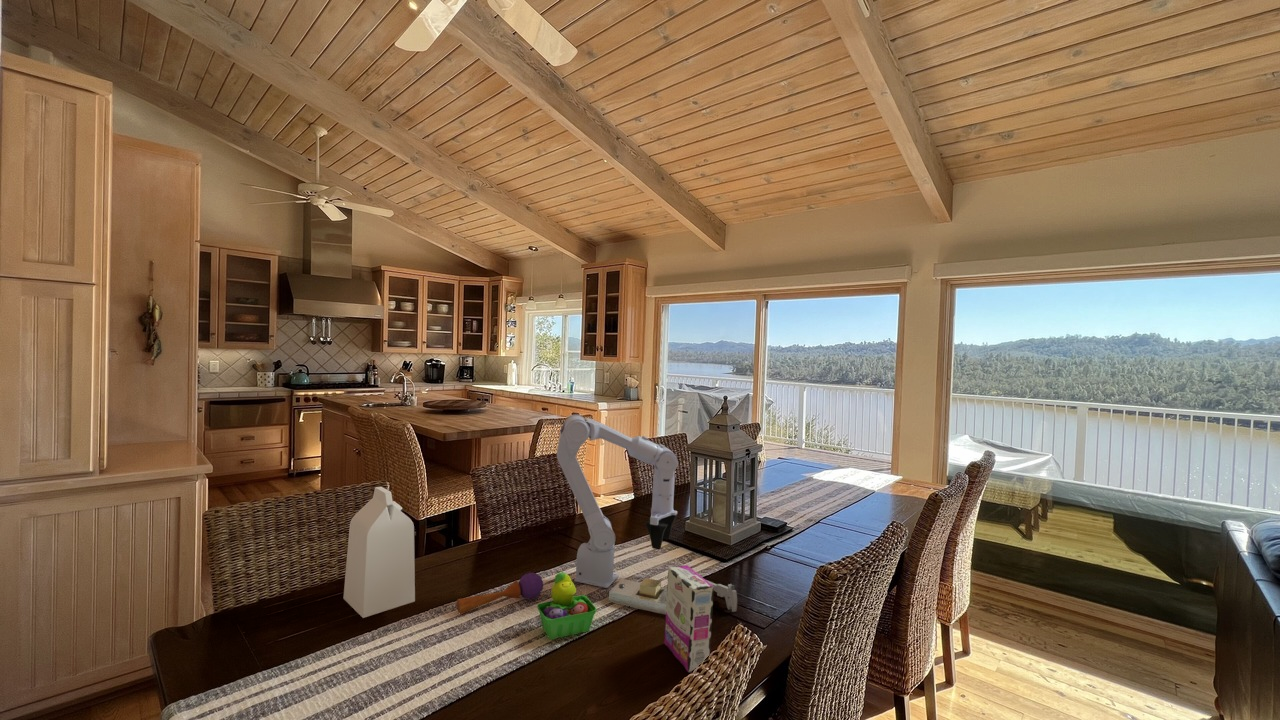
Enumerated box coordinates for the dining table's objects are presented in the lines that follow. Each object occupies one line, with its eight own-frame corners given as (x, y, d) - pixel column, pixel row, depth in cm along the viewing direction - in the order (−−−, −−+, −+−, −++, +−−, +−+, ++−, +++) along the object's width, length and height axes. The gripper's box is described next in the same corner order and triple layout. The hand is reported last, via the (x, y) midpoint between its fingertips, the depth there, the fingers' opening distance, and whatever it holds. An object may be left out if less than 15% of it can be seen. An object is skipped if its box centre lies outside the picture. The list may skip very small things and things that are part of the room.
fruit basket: (545, 644, 110) (548, 590, 110) (533, 623, 118) (535, 573, 118) (597, 633, 116) (599, 581, 115) (582, 614, 123) (584, 565, 123)
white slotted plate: (608, 601, 130) (609, 590, 130) (621, 588, 137) (621, 577, 137) (680, 618, 124) (681, 606, 124) (689, 602, 131) (689, 591, 131)
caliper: (736, 613, 128) (738, 587, 128) (733, 614, 127) (734, 588, 127) (691, 578, 146) (692, 555, 146) (687, 578, 145) (688, 555, 145)
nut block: (638, 604, 129) (640, 584, 129) (644, 597, 133) (645, 577, 133) (654, 608, 128) (655, 587, 128) (659, 601, 132) (660, 581, 131)
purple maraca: (454, 590, 124) (536, 567, 135) (456, 616, 123) (539, 592, 134) (460, 596, 119) (545, 572, 129) (463, 624, 118) (547, 597, 129)
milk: (343, 598, 125) (347, 488, 125) (393, 583, 134) (397, 480, 133) (362, 618, 117) (366, 500, 116) (414, 601, 126) (418, 491, 125)
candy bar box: (711, 669, 105) (715, 586, 104) (688, 674, 103) (692, 589, 102) (684, 639, 115) (687, 563, 114) (663, 643, 113) (666, 566, 112)
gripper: (669, 502, 135) (667, 555, 136) (684, 489, 149) (682, 537, 149) (643, 498, 138) (640, 550, 138) (660, 485, 151) (658, 533, 152)
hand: (660, 543), depth 144 cm, fingers open, 7 cm apart
